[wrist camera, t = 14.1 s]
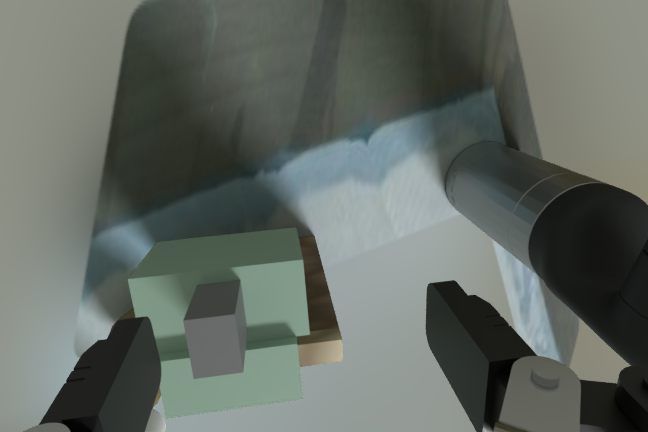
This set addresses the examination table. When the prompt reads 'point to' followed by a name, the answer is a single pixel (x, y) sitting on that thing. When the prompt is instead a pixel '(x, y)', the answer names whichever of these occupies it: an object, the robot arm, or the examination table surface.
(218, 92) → the examination table surface
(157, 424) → the cylindrical container
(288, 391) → the green box
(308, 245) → the wall board
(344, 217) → the examination table surface
